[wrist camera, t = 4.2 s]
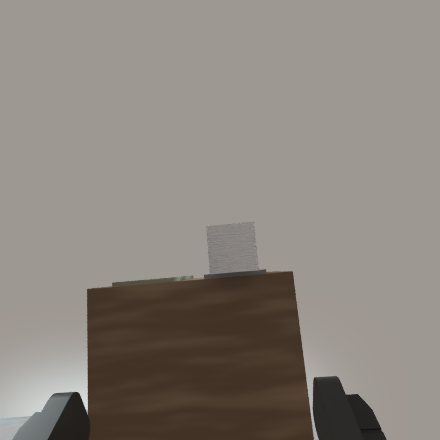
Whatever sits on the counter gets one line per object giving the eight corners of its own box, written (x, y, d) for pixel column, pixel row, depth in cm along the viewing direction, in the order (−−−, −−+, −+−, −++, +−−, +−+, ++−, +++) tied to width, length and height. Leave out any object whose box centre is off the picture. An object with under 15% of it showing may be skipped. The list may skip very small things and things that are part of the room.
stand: (345, 687, 23) (292, 267, 28) (89, 697, 24) (87, 284, 29) (303, 531, 37) (273, 268, 42) (143, 540, 37) (134, 280, 43)
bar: (258, 270, 21) (253, 222, 22) (210, 274, 21) (206, 226, 22) (246, 271, 43) (244, 246, 43) (222, 273, 43) (220, 248, 44)
